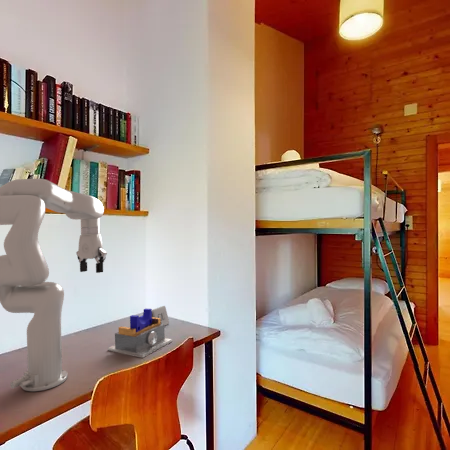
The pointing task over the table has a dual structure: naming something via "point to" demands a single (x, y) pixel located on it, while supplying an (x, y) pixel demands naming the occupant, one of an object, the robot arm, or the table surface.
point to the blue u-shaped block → (141, 320)
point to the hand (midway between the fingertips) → (91, 271)
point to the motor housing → (140, 339)
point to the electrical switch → (161, 314)
